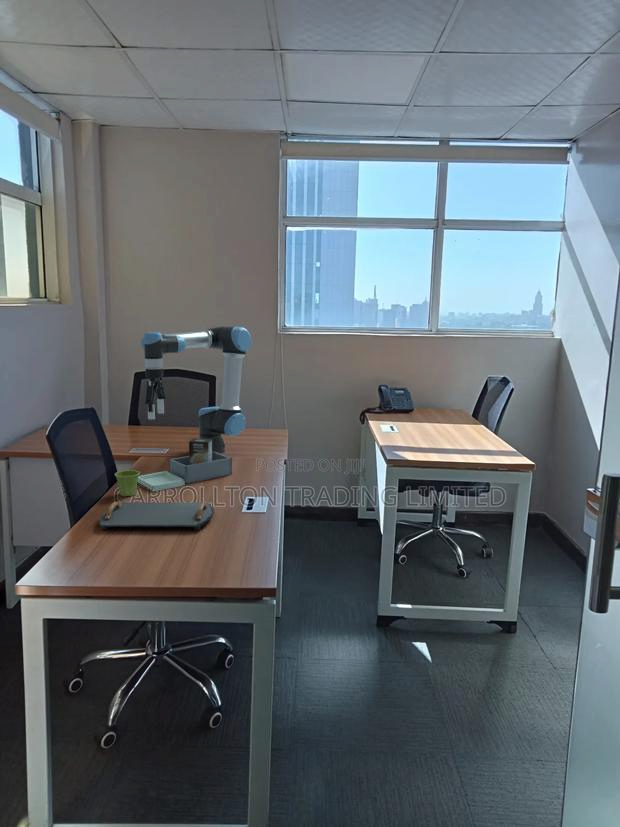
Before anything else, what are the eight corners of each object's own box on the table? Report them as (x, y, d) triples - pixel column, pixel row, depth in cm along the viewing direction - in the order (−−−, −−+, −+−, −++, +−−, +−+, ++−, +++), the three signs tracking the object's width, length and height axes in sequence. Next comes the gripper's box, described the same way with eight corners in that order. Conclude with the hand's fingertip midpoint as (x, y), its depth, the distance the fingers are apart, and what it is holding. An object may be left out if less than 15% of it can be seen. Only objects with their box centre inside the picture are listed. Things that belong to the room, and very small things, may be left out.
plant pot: (127, 489, 233) (126, 468, 231) (145, 492, 228) (144, 471, 227) (110, 495, 224) (109, 474, 223) (128, 499, 220) (127, 477, 219)
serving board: (218, 509, 211) (217, 493, 210) (207, 534, 188) (207, 516, 187) (113, 509, 210) (112, 493, 209) (90, 533, 188) (89, 515, 186)
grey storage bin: (214, 467, 267) (214, 451, 265) (232, 474, 255) (231, 457, 254) (169, 475, 252) (169, 459, 251) (185, 483, 241) (185, 466, 239)
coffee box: (188, 476, 251) (187, 441, 248) (193, 472, 257) (192, 438, 254) (209, 477, 250) (208, 441, 247) (212, 473, 256) (212, 438, 253)
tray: (166, 476, 251) (166, 470, 251) (184, 485, 238) (184, 479, 238) (136, 482, 242) (135, 476, 242) (153, 491, 229) (153, 486, 229)
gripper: (154, 365, 259) (156, 411, 263) (135, 371, 235) (138, 421, 238) (170, 365, 259) (172, 411, 263) (153, 371, 234) (156, 421, 238)
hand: (156, 416), depth 251 cm, fingers open, 13 cm apart
